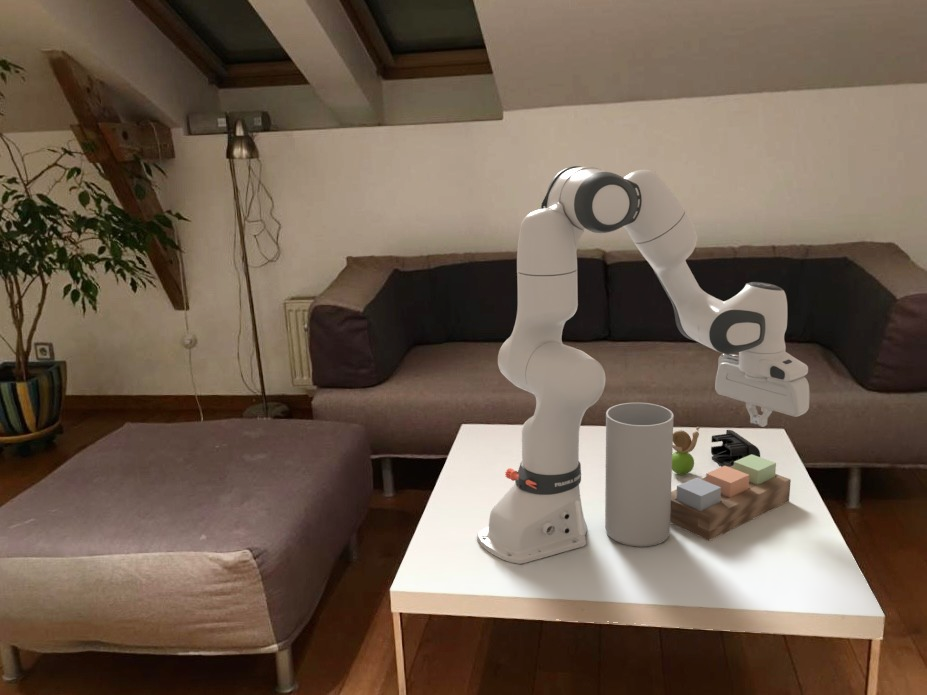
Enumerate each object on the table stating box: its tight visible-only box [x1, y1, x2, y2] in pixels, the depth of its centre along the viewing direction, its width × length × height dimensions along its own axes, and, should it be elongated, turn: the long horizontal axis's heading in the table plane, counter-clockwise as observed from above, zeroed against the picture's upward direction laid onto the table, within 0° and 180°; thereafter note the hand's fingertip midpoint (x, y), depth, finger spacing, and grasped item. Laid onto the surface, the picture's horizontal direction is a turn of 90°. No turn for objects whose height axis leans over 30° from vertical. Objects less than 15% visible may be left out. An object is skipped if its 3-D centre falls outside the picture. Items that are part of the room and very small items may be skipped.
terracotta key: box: [705, 466, 749, 498], centre depth 170 cm, size 6×6×4 cm
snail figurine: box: [672, 426, 700, 476], centre depth 187 cm, size 5×6×12 cm
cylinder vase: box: [604, 402, 675, 548], centre depth 161 cm, size 12×12×25 cm
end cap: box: [710, 429, 761, 467], centre depth 192 cm, size 10×7×7 cm
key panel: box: [670, 465, 792, 542], centre depth 171 cm, size 26×12×5 cm, turn 125°
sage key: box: [734, 454, 777, 485], centre depth 175 cm, size 6×6×4 cm
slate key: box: [676, 477, 721, 511], centre depth 165 cm, size 6×6×4 cm
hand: (758, 424), depth 172 cm, fingers closed
